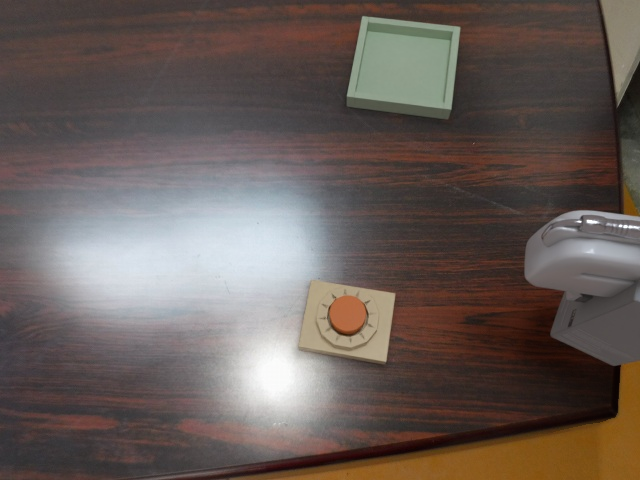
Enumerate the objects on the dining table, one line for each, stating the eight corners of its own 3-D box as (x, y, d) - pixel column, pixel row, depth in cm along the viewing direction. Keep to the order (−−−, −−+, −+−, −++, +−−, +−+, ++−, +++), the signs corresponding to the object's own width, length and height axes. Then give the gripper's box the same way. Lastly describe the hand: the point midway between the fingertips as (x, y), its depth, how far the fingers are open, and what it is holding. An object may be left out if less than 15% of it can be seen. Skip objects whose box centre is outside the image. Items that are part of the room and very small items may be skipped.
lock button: (368, 302, 60) (368, 298, 59) (362, 337, 59) (363, 334, 57) (333, 296, 61) (332, 292, 59) (327, 331, 59) (326, 327, 58)
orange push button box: (394, 298, 64) (397, 288, 60) (384, 364, 61) (387, 359, 58) (312, 284, 65) (310, 274, 61) (299, 349, 62) (296, 343, 59)
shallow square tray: (457, 38, 78) (460, 26, 75) (448, 119, 73) (451, 109, 71) (361, 28, 79) (362, 15, 77) (346, 106, 74) (346, 96, 72)
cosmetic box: (573, 264, 53) (659, 190, 38) (648, 295, 51) (766, 231, 36) (544, 340, 50) (624, 293, 35) (621, 376, 48) (738, 342, 34)
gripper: (557, 262, 32) (499, 317, 45) (941, 319, 30) (763, 359, 42) (560, 170, 34) (503, 247, 47) (916, 216, 32) (754, 284, 45)
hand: (628, 300), depth 45 cm, fingers closed on cosmetic box, 7 cm apart
